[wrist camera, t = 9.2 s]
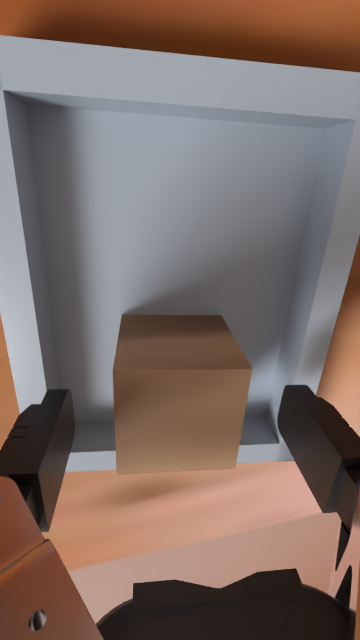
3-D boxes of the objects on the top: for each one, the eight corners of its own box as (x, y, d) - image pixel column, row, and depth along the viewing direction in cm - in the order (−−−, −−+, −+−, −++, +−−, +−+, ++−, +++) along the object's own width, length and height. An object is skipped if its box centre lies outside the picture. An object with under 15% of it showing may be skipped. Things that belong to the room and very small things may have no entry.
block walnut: (121, 314, 14) (112, 370, 10) (221, 315, 14) (252, 368, 10) (123, 397, 16) (116, 474, 12) (212, 395, 16) (235, 468, 12)
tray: (-12, 62, 10) (-55, 29, 8) (353, 96, 12) (403, 76, 10) (46, 434, 17) (31, 473, 15) (278, 425, 18) (298, 460, 16)
